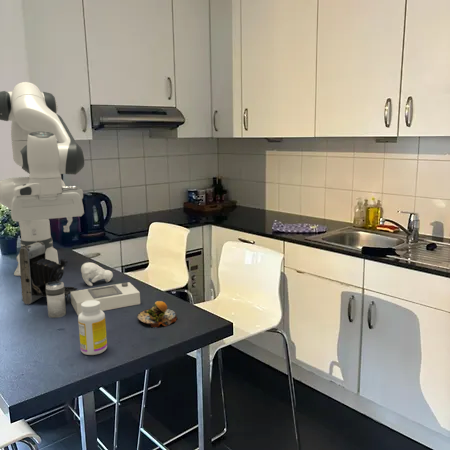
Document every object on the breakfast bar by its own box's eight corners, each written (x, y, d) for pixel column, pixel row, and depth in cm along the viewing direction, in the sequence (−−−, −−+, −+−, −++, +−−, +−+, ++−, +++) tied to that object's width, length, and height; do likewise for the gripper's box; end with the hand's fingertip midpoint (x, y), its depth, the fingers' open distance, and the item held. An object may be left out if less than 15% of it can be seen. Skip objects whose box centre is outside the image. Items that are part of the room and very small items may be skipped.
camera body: (71, 303, 151) (70, 289, 150) (130, 293, 160) (129, 280, 159) (77, 315, 140) (76, 300, 140) (140, 303, 150) (139, 290, 149)
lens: (46, 313, 143) (44, 282, 141) (65, 309, 145) (62, 279, 143) (49, 319, 138) (46, 287, 136) (67, 315, 140) (65, 284, 138)
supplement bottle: (110, 344, 121) (107, 298, 118) (103, 356, 114) (99, 308, 112) (85, 344, 121) (82, 298, 119) (76, 356, 115) (73, 308, 112)
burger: (145, 311, 144) (144, 289, 142) (181, 314, 142) (180, 291, 140) (131, 327, 132) (129, 303, 131) (170, 330, 130) (169, 305, 129)
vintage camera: (63, 309, 147) (61, 249, 143) (21, 304, 150) (17, 245, 146) (78, 299, 156) (77, 243, 153) (38, 294, 159) (36, 239, 156)
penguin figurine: (80, 261, 170) (111, 260, 175) (79, 282, 171) (110, 280, 177) (82, 265, 165) (115, 263, 170) (82, 287, 166) (114, 285, 171)
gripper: (80, 184, 141) (83, 228, 144) (8, 188, 132) (13, 235, 135) (84, 186, 136) (87, 231, 138) (9, 190, 127) (14, 239, 129)
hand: (50, 233), depth 136 cm, fingers open, 8 cm apart
